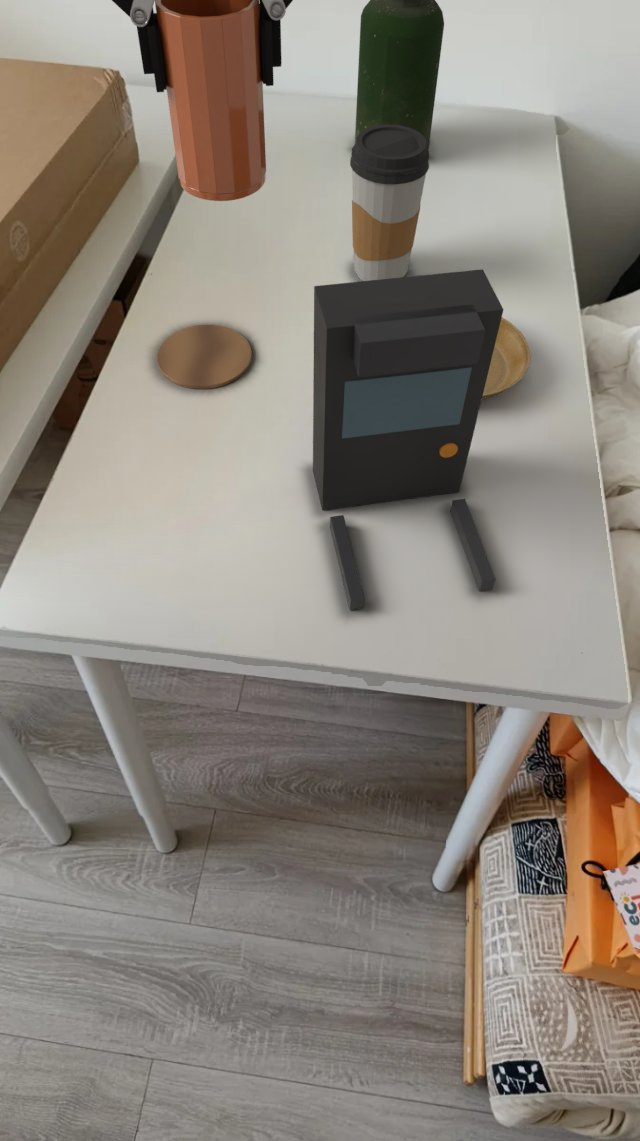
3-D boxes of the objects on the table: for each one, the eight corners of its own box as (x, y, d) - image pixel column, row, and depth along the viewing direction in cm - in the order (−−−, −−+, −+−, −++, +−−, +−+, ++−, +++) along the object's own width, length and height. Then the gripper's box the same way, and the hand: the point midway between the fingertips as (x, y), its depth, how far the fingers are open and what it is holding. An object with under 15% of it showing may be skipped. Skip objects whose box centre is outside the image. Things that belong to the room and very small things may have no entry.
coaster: (160, 394, 79) (160, 391, 79) (154, 332, 85) (154, 329, 85) (257, 383, 80) (257, 380, 80) (245, 323, 86) (245, 320, 86)
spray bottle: (365, 126, 112) (378, -94, 92) (435, 137, 111) (464, -84, 90) (345, 160, 107) (354, -66, 86) (418, 173, 105) (445, -55, 85)
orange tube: (181, 204, 59) (157, 21, 49) (176, 159, 62) (152, -19, 53) (270, 197, 59) (264, 16, 50) (260, 153, 63) (252, -24, 53)
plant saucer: (484, 311, 88) (489, 291, 86) (551, 396, 80) (557, 376, 78) (364, 339, 85) (365, 319, 82) (421, 430, 77) (424, 410, 75)
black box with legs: (346, 611, 64) (359, 439, 48) (312, 470, 73) (314, 285, 57) (495, 589, 66) (557, 415, 50) (444, 453, 75) (483, 268, 59)
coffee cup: (429, 277, 91) (448, 147, 79) (373, 301, 89) (383, 170, 76) (387, 243, 95) (398, 114, 83) (331, 265, 93) (335, 135, 80)
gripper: (331, -303, 44) (324, 52, 58) (15, -302, 42) (90, 64, 56) (356, -279, 39) (343, 97, 54) (6, -276, 38) (89, 113, 52)
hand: (213, 78), depth 55 cm, fingers closed on orange tube, 6 cm apart
